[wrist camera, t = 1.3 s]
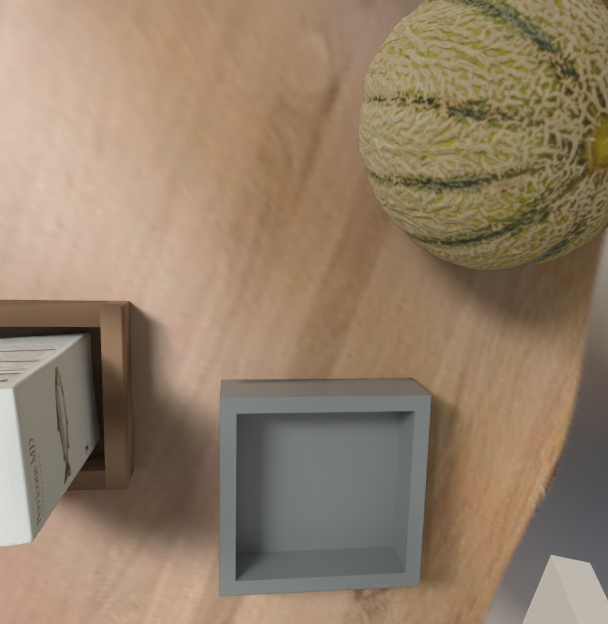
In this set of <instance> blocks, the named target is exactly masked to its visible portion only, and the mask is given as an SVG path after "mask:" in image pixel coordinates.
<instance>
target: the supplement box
mask: <svg viewBox="0 0 608 624" xmlns="http://www.w3.org/2000/svg"><path fill="white" fill-rule="evenodd" d="M100 438H101V436H100V430H99V423H98V416H97V409H96V401H95V391H94V381H93V369H92V357H91V341H90V333H76V334H61V335H45V336H28V337H11V338H0V546H11V545H20V544H27V543H32V542H33V541H34V539H35V537H36V536H37V534H38V533H39V531H40V530H41V528H42V527H43V525H44V523H45V522H46V520H47V519H48V517H49V516H50V514H51V513H52V511H53V510H54V508H55V507H56V505H57V504H58V502H59V501H60V499H61V498H62V496H63V495H64V493H65V492H66V490H67V488H68V487H69V485H70V484H71V482H72V481H73V479H74V478H75V476H76V475H77V473H78V472H79V470H80V469H81V467H82V466H83V464H84V463H85V461H86V460H87V458H88V457H89V455H90V454H91V452H92V451H93V449H94V447H95V446H96V444H97V443H98V441H99V440H100Z"/></svg>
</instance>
